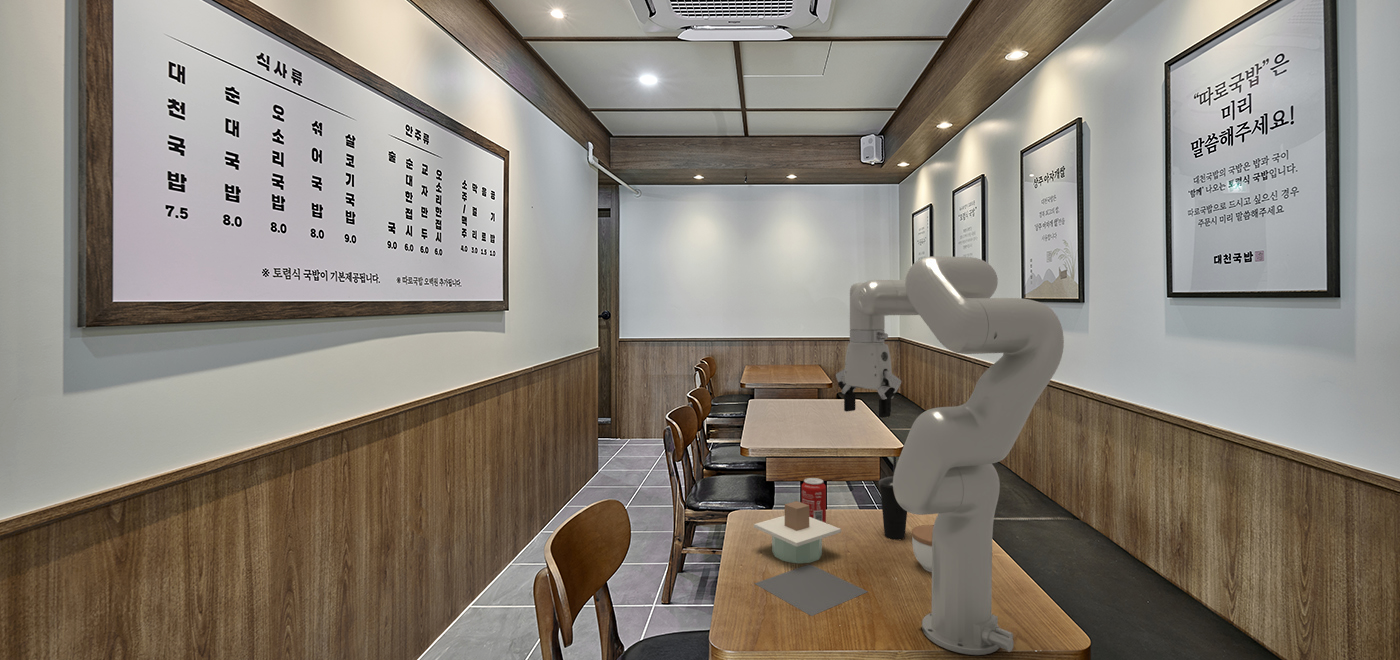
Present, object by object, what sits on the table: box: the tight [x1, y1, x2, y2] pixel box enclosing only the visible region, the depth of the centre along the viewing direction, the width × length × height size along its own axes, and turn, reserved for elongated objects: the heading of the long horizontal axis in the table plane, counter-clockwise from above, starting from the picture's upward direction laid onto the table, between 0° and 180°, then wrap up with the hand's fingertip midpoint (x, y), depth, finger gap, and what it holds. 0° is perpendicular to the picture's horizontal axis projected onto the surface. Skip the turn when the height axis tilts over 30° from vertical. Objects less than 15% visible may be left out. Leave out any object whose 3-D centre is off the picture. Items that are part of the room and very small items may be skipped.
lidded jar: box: [911, 524, 934, 574], centre depth 129 cm, size 11×11×9 cm
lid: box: [753, 500, 842, 547], centre depth 136 cm, size 14×14×6 cm
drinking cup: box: [878, 456, 908, 541], centre depth 147 cm, size 8×8×20 cm
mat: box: [754, 563, 869, 617], centre depth 119 cm, size 16×16×1 cm
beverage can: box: [801, 477, 827, 523], centre depth 155 cm, size 6×6×12 cm
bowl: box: [771, 535, 823, 564], centre depth 136 cm, size 11×11×6 cm
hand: (866, 413), depth 133 cm, fingers open, 9 cm apart
